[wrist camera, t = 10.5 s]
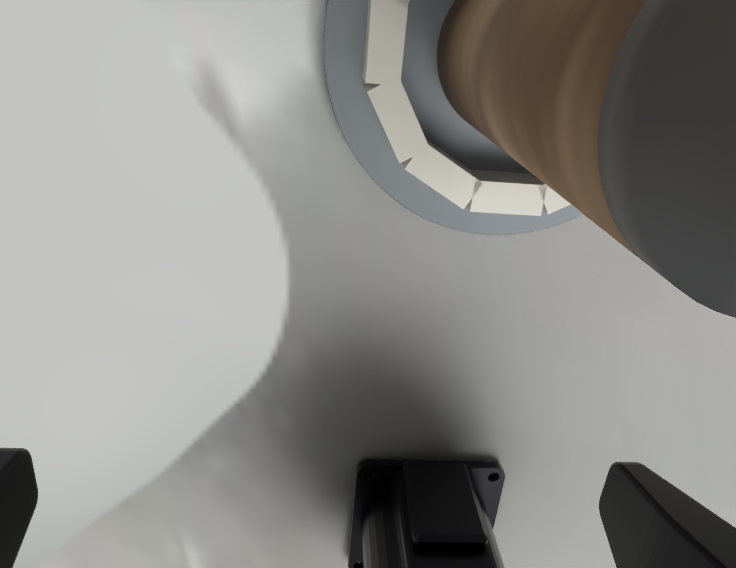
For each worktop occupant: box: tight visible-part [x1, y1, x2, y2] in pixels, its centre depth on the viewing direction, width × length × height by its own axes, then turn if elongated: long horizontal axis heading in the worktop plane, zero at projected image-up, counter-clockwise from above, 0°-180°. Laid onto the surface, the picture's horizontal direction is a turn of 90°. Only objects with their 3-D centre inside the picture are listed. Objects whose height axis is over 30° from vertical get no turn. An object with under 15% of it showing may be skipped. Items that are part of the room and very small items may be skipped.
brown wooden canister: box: [437, 0, 736, 318], centre depth 12 cm, size 6×5×13 cm
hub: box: [324, 0, 583, 235], centre depth 18 cm, size 12×12×2 cm
